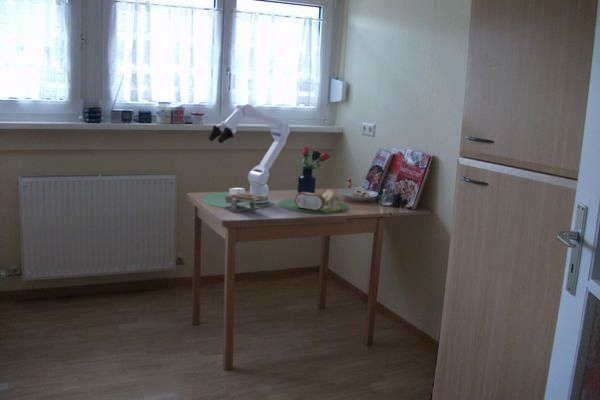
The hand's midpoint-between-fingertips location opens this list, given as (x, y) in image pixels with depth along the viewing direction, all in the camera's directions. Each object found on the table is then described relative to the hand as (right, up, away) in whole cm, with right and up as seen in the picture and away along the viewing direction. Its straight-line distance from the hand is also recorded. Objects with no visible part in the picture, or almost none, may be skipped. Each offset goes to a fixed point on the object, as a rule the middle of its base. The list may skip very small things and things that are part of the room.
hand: (214, 140), depth 288 cm
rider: (+10, -27, +8) cm, 30 cm away
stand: (+13, -33, +6) cm, 36 cm away
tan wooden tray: (+15, -30, +4) cm, 34 cm away
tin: (+45, -33, +15) cm, 58 cm away
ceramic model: (+56, -33, +21) cm, 68 cm away
